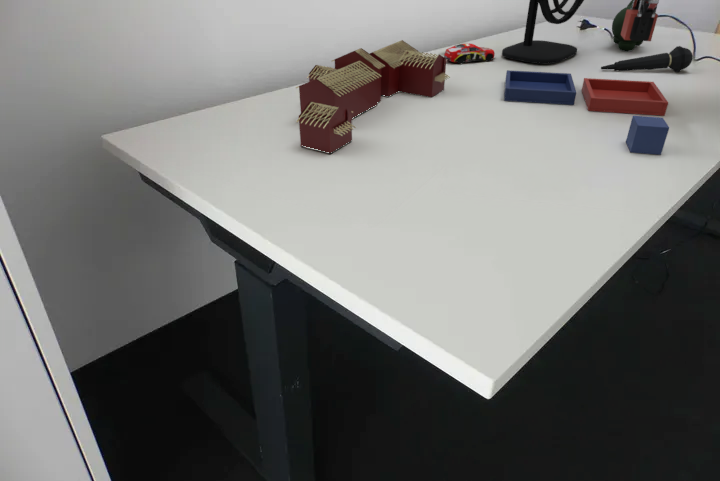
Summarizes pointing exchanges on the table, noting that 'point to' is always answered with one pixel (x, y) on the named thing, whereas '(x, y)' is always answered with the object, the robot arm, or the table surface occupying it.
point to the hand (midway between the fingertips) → (636, 36)
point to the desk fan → (543, 49)
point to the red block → (629, 23)
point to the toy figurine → (617, 28)
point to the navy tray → (539, 87)
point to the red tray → (623, 97)
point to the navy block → (647, 135)
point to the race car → (468, 53)
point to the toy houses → (362, 89)
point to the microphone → (656, 61)
